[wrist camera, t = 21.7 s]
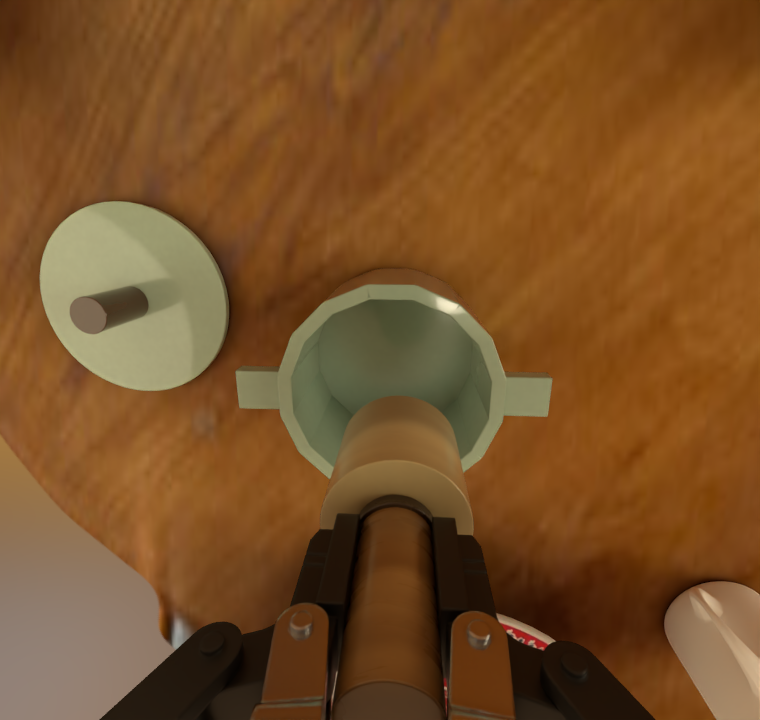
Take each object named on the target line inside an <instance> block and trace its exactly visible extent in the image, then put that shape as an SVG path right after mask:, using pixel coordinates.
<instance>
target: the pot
mask: <svg viewBox="0 0 760 720" xmlns="http://www.w3.org/2000/svg"><path fill="white" fill-rule="evenodd" d="M235 372H236V382H237V391H238V401H239V408H253V409H280V415H281V418H282V420H283V422H284V424H285V426H286V428H287V430H288V432H289V434H290V436H291V438H292V440H293V442H294V443H295V445H296V447H297V449H298V451H299V453H301V454H302V455H303V456H304V457H305V458H306V459H307V460H308V461H310V462H311V463H312V464H313V465H314V466H315V467H316V468H317V469H319V470H320V471H321V472H322V473H323V474H324V475H325V476H327V477H328V478H329V479H330V478H331V475H332V472H333V468H334V465H335V462H336V459H337V455H338V452H339V449H340V445H341V442H342V439H343V435H344V432H345V429H346V427H347V425H348V423H349V421H350V420H351V418H352V417H353V416H354V414H355V413H356V412H357V411H358V410H360V409H361V408H362V407H363V406H365V405H366V404H368V403H370V402H372V401H374V400H376V399H379V398H383V397H388V396H399V395H400V396H409V397H414V398H418V399H420V400H423V401H425V402H427V403H429V404H431V405H432V406H434V407H435V408H437V409H438V410H439V411H440V412H441V413H442V414H443V415H444V416H445V417H446V418H447V420H448V421H449V423H450V424H451V426H452V429H453V431H454V434H455V437H456V442H457V446H458V451H459V455H460V460H461V464H462V469H463V473H464V472H465V471H466V470H467V469H469V468H470V467H471V466H472V465H474V464H475V463H476V462H478V461H479V460H480V459H481V457H483V455H484V454H485V452H486V450H487V448H488V447H489V445H490V443H491V441H492V440H493V438H494V436H495V434H496V432H497V431H498V429H499V427H500V425H501V424H502V422H503V415H506V416H542V417H547V416H548V410H549V402H550V395H551V387H552V377H551V376H550V375H549V374H548V373H537V372H504V370H503V367H502V365H501V362H500V359H499V356H498V353H497V350H496V347H495V344H494V342H493V339H492V337H491V336H490V334H489V333H488V332H487V330H486V329H485V327H484V326H483V325H482V323H481V322H480V320H479V319H478V318H477V316H476V315H475V313H474V312H473V311H472V309H471V308H470V307H469V306H468V305H467V304H466V303H465V302H464V301H463V299H462V298H461V297H460V296H459V295H458V294H457V293H456V292H455V291H454V290H453V289H452V288H451V287H450V286H449V285H448V284H447V283H445V282H443V281H440V280H438V279H436V278H434V277H433V276H431V275H428V274H425V273H422V272H420V271H417V270H414V269H402V268H388V269H375V270H373V271H370V272H368V273H365V274H362V275H360V276H357V277H355V278H353V279H351V280H348V281H346V282H344V283H343V284H342V285H341V286H340V287H338V288H337V289H336V290H335V291H334V292H333V293H332V294H331V295H330V296H329V297H328V298H327V299H326V300H325V301H324V302H323V303H322V304H321V305H320V306H319V307H318V308H317V309H316V310H315V311H314V312H313V313H312V314H311V315H310V316H309V317H308V318H307V319H306V320H305V321H304V322H303V323H302V324H301V325H300V326H299V327H298V328H297V329H296V330H295V331H294V332H293V333H292V335H291V337H290V340H289V343H288V346H287V349H286V351H285V354H284V357H283V360H282V362H281V365H280V367H272V366H241V367H239V368H238V369H237V370H236V371H235Z"/></svg>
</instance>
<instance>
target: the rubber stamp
mask: <svg viewBox="0 0 760 720" xmlns="http://www.w3.org/2000/svg"><path fill="white" fill-rule="evenodd" d="M337 513H346V514H360V533H359V540H358V546H357V553H356V559H355V566H354V572H353V579H352V585H351V591H350V598H349V604H348V611H347V617H346V624H345V630H344V634H343V639H342V646H341V652H340V658H339V665H338V671H337V678H336V684H335V690H334V697H333V703H332V709H331V720H447V717H446V704H445V691H444V678H443V666H442V653H441V641H440V636H439V625H438V611H437V598H436V585H435V572H434V559H433V546H432V532H431V530H432V517H451V518H455V521H456V527H457V533H458V535H472V536H473V531H474V521H473V515H472V510H471V505H470V501H469V496H468V492H467V487H466V482H465V478H464V473H463V469H462V464H461V460H460V455H459V451H458V446H457V442H456V437H455V434H454V431H453V429H452V426H451V424H450V423H449V421H448V420H447V418H446V417H445V416H444V415H443V414H442V413H441V412H440V411H439V410H438V409H437V408H435V407H434V406H432V405H431V404H429V403H427V402H425V401H423V400H420V399H418V398H414V397H409V396H400V395H399V396H388V397H383V398H379V399H376V400H374V401H372V402H370V403H368V404H366V405H365V406H363V407H362V408H361V409H360V410H358V411H357V412H356V413H355V414H354V416H353V417H352V418H351V420H350V421H349V423H348V425H347V427H346V429H345V432H344V435H343V439H342V442H341V445H340V449H339V452H338V455H337V459H336V462H335V465H334V468H333V472H332V475H331V478H330V482H329V485H328V488H327V492H326V495H325V498H324V501H323V505H322V508H321V514H320V528H321V529H333V528H334V524H335V520H336V516H337Z"/></svg>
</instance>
